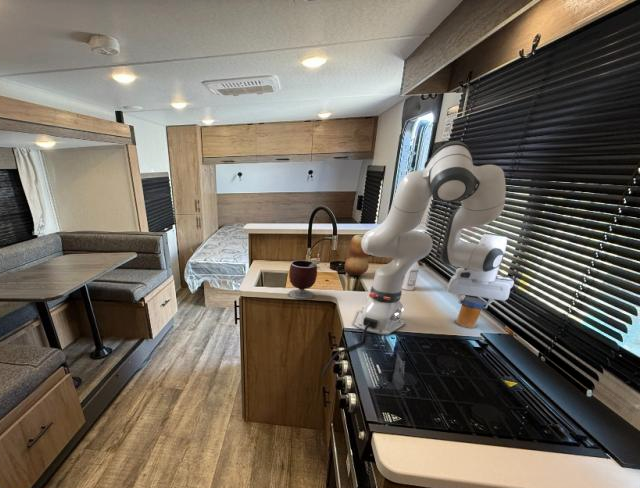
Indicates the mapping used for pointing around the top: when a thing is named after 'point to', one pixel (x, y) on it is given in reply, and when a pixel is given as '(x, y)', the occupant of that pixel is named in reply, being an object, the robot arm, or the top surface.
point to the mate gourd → (302, 278)
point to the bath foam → (411, 277)
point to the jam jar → (468, 316)
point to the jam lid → (473, 302)
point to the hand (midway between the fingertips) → (472, 305)
